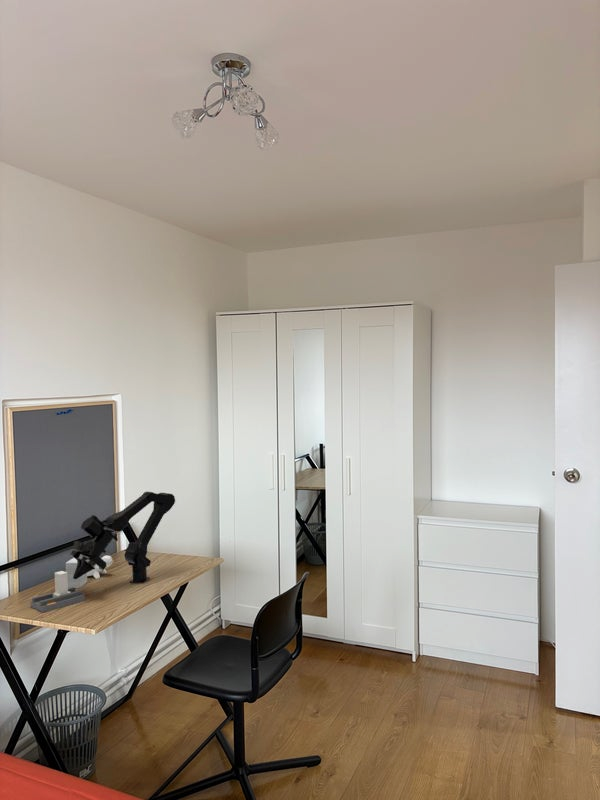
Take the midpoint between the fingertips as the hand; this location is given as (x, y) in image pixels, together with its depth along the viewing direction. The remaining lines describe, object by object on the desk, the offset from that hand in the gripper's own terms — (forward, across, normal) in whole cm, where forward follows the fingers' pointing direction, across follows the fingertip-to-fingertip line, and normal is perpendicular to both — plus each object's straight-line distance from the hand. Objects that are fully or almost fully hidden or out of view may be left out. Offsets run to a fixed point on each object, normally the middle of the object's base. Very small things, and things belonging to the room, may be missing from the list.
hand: (74, 578), depth 232 cm
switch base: (+10, 0, +1) cm, 10 cm away
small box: (-1, -16, +12) cm, 20 cm away
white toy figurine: (-9, -22, +20) cm, 31 cm away
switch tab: (+7, 0, 0) cm, 7 cm away
